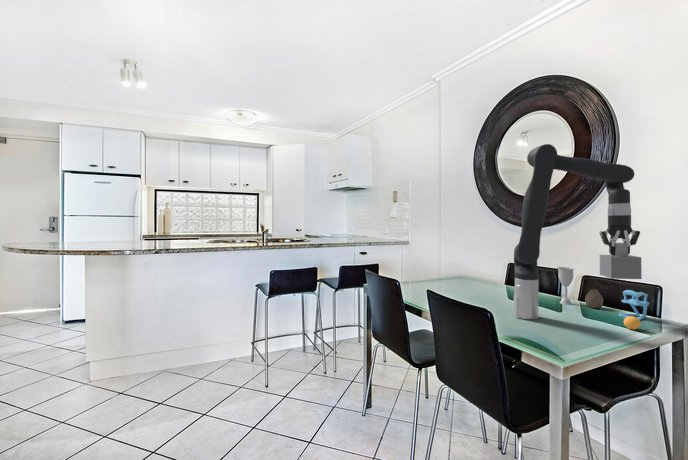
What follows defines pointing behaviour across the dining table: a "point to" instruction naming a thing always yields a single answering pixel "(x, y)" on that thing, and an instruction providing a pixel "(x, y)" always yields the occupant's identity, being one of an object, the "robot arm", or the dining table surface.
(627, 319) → the ball
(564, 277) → the chalice
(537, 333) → the dining table surface
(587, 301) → the vase
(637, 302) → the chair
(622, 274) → the gray block
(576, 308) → the dining table surface
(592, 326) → the dining table surface
